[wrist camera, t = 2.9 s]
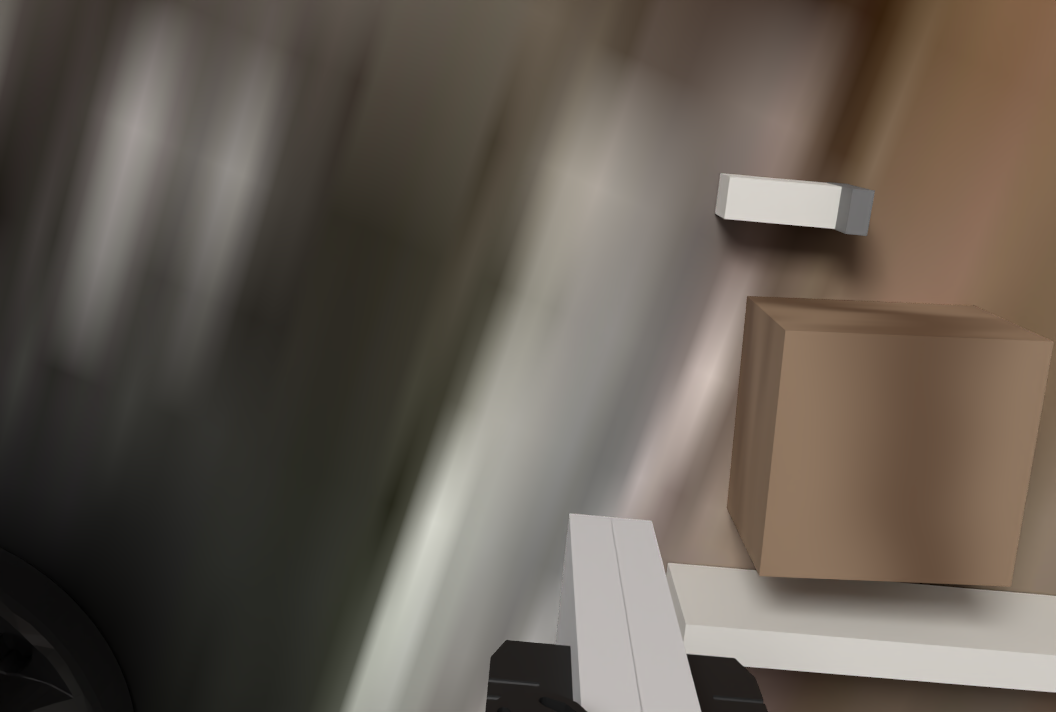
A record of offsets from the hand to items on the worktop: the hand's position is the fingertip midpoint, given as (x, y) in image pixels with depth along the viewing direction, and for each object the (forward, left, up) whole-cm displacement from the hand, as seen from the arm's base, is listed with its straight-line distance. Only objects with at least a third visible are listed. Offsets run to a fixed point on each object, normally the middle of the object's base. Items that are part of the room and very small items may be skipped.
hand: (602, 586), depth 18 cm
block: (+9, 0, -14) cm, 16 cm away
